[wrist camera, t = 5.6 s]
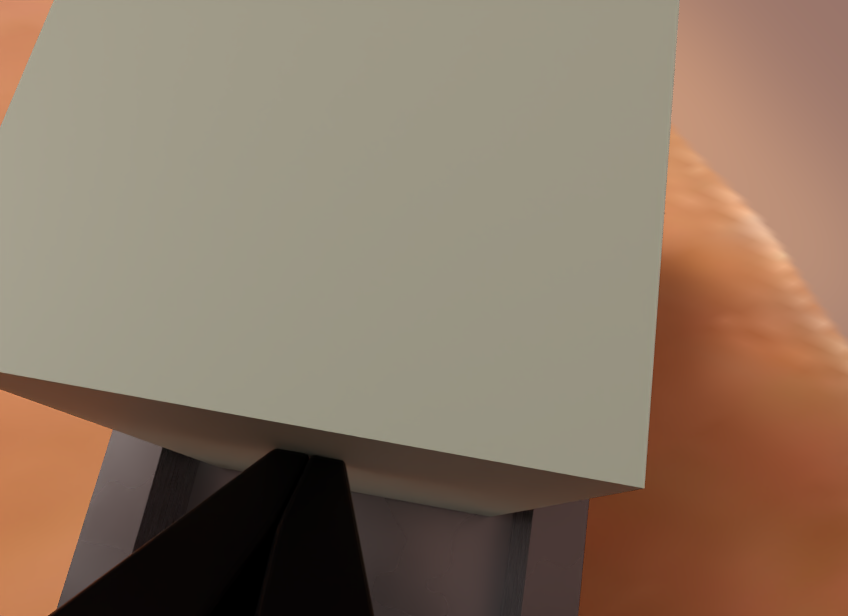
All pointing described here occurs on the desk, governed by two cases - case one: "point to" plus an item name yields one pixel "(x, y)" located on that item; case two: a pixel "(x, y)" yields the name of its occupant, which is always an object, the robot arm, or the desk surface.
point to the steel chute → (379, 535)
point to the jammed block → (347, 235)
